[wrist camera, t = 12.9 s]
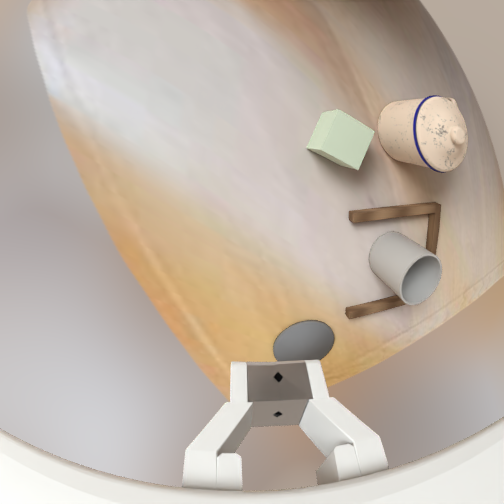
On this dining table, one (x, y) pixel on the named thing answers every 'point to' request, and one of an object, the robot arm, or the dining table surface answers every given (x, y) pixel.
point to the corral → (387, 213)
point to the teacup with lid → (424, 132)
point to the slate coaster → (304, 341)
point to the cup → (405, 267)
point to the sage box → (341, 139)
